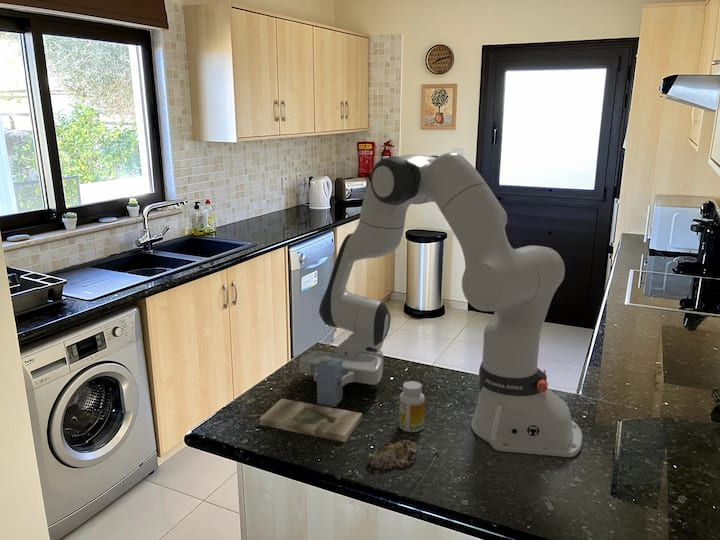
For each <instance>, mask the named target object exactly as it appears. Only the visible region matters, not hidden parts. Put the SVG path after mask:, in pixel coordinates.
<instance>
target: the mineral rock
mask: <svg viewBox="0 0 720 540" xmlns="http://www.w3.org/2000/svg"><path fill="white" fill-rule="evenodd" d="M417 452H418V443H415V442H414V441H411V440H409V439H407V440H406V439H404V438H403V439H402V440H400V439H399V440H397V441H396V442H395V443H393V442H387V443H384V444H382V445H379V447H378V448H376V450H374V451H373V453H371V454H370V455H369V458H368V463H369V465H370V466H369V467H370V468H371V469H374V468H375V469H377V470H387V469H391V468H394V467H396V468H402V469H403V468H406V467H409V466H410V465H411V464H412V463H414V462H415V461H416V460H417V457H416V456H417Z"/></svg>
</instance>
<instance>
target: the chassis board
mask: <svg viewBox="0 0 720 540" xmlns="http://www.w3.org/2000/svg"><path fill="white" fill-rule="evenodd" d="M258 419H259V425H260V426H264V427H269V428H274V429H279V430H284V431H289V432H292V433H297V434H298V433H299V434H304V435H308V436H314V437H317V438H322V439H327V440H332V441H337V442H341V443H346V442H347V440H348V439H349V438H350V436H351V435H352V434H353V432H354V431H355V429H357V427H358V426H359V424H360V423H361V422H362V421H363V413H362V412H358V411H351V410H346V409H341V408H336V407H332V406H326V405H321V404H315V403H314V404H313V403H309V402H304V401H303V402H302V401H297V400H292V399H287V398H281V399H279V400H278V401H277V402H276V403H275V404H274V405H272V406H271V407H270V408H269V409H268V410H267V411H266V412H265V413H264V414H262V416H261V417H259V418H258Z"/></svg>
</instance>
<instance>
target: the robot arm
mask: <svg viewBox="0 0 720 540" xmlns="http://www.w3.org/2000/svg"><path fill="white" fill-rule="evenodd" d="M430 202H431V203H432V202H433V203H435V204H436V206H437V207H438V209H439V211H440V212H441V214H442V215H443V217H444V219H445V221H446V222H447V223H448V225H449V227H450V228H451V231H452V232H453V234H454V236H455V237H456V239H457V241H458V243H459V245H460V247H461V250H462V255H463V258H464V263H465V265H464V267H465V268H464V270H463V275H462V278H461V288H462V289H461V290H462V293H463V296H464V298H465V299H466V301H467V303H469V304H470V306H471V307H473V308H474V309H476V310H478V311H481V312H494V313H493V315H492V316H491V318H490V319H489V321H488V323H486V325H485V328H484V331H483V343H482V344H483V345H482V362H481V363H480V365H479V370H478V391H479V393H478V399H477V402H476V403H477V404H476V408H475V412H474V415H473V418H472V420H471V422H470V426H471V429H472V431H473V432H474V433H475V434H476V435H477V436H478V437H479V438H481V439H483V441H486V442H487V443H489V445H490V446H491V447H492V448H493V449H494V450H496V451H498V452H507V453H517V454H518V453H519V454H528V455H541V456H551V457H564V458H573V457H575V456H576V455H577V454H578V453H579V452H580V451H581V449H582V446H583V434H582V430H581V428H580V426H579V425H578V424H577V423H576V422H575V421H573V420H572V415H571V411H570V408H569V405H568V404H567V403H566V401H565V400H564V399H562V398H560V396H558V395H557V394H555V393H554V392H553V391H552V390H550V388H548V385H549V383H548V381H547V378H548V376H547V372H546V369H543V371H542V370H541V369H540V368H539V367H538V360H539V359H538V358H539V349H540V340H541V334H542V329H543V325H544V322H545V320H546V317H547V314H548V311H549V308H550V305H551V302H552V299H553V297H554V295H555V293H556V292H557V290H558V289H559V287H560V285H561V284H562V283H563V281H564V278H565V274H566V273H565V272H566V267H565V262H564V259H562V257H561V255H560V254H559V253H558V252H557V251H556V250H554V249H553V248H551V247H548V246H542V245H526V246H521V247H518V248H513V247H512V246H511V244H510V242H509V239H508V237H507V233H506V229H505V228H506V226H507V224H508V215H507V211H506V210H505V209H504V207H503V205H502V204H501V203H500V201H499V200H498V198H497V197H496V195H495V194H494V193H493V191H492V189H491V188H490V186H489V185H488V184H487V182H486V181H485V179H484V178H483V177H482V175H481V174H480V173H479V171H478V170H477V169H476V168H475V167H474V166H473V165H472V163H470V161H468V160H467V159H466V157H464V156H463V155H461V154H459V153H457V152H446V153H443V154H441V155H439V156H438V155H424V154H423V155H422V154H406V155H400V156H399V155H398V156H396V155H393V156H389V157H385V158H383V159H381V160H379V161H378V162H377V163H375V165H374V166H373V168H372V169H371V174H370V181H369V183H368V185H367V187H366V191H365V193H364V197H363V200H362V204H361V209H360V213H359V221H358V224H357V226H356V229H355V230H354V231H353V232H352V233H348V234H347V235H346V236H345V238H344V239H343V241H342V243H341V245H340V247H339V250H338V253H337V256H336V259H335V262H334V264H333V265H334V266H333V269H332V271H331V274H330V278H329V280H328V284H327V287H326V289H325V292H324V294H323V297H322V299H321V301H320V304H319V308H318V309H319V310H318V314H319V316H320V319H321V320H322V321H323V323H324V324H325V325H326V326H327V327H332V328H338V329H343V330H346V331H349V332H352V333H351V334H350V335H349V336H348V337H347V338H346V339H344V340H343V341H342V342H341V343H340V344H339V345H337V347H336V348H335V349H334V350H333V352H330V351H329V352H328V351H324V350H323V351H322V350H314V351H311V352H309V353H307V354H306V355H304V356H302V357H301V358H300V360H299V370H300V373H301V374H303V375H311V376H313V382H316V383H317V367H316V364H317V363H318V362H319V361H320V360H321V359H322V357H323V356H330V357H332V358H339V359H342V374H343V376H339V377H338V379H337V382H338V383H337V385H340V386H343V387H344V386H345V385H347V384H349V383H360V384H366V385H372V386H373V385H377V384H379V382H380V381H381V380H382V376H383V372H384V356H383V355H384V353H383V351H382V350H381V349H382V347H383V345H384V341H385V339H386V338H387V336H388V332H389V330H390V325H391V319H392V318H391V313H390V311H389V308H388V307H387V304H385V302H384V301H381V300H377V299H374V298H372V297H371V298H370V297H366V296H363V295H359V294H357V293H352V292H349V291H348V290H347V288H346V287H347V284H348V281H349V279H350V275H351V272H352V270H353V269H352V268H353V265H354V263H355V262H356V261H360V260H365V259H374V258H375V259H376V258H381V257H384V256H387V255H389V254H391V253H393V252H394V251H395V250H396V249H397V248H398V246H400V243H401V241H402V238H403V234H404V228H405V224H406V223H405V222H406V215H407V210H408V208H409V207H410V205H422V204H427V203H430Z"/></svg>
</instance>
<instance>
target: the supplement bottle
mask: <svg viewBox="0 0 720 540" xmlns="http://www.w3.org/2000/svg"><path fill="white" fill-rule="evenodd" d="M422 387H423V386H422V384H421V382H418V381H414V380H413V381H412V380H411V381H410V380H408V381H405V382H403V385H402V392H401V393H400V394H399V399H398V400H399V403H398V404H399V407H398V409H399V411H398V412H399V413H398V426H399V428H400V429H401V430H403V431H404V432H408V433H417V432H420V431H421V430H423V429H424V428H425V408H426V407H425V404H426V403H425V401H426V400H425V399H426V397H425V395H424V393H422V390H423V388H422Z"/></svg>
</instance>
